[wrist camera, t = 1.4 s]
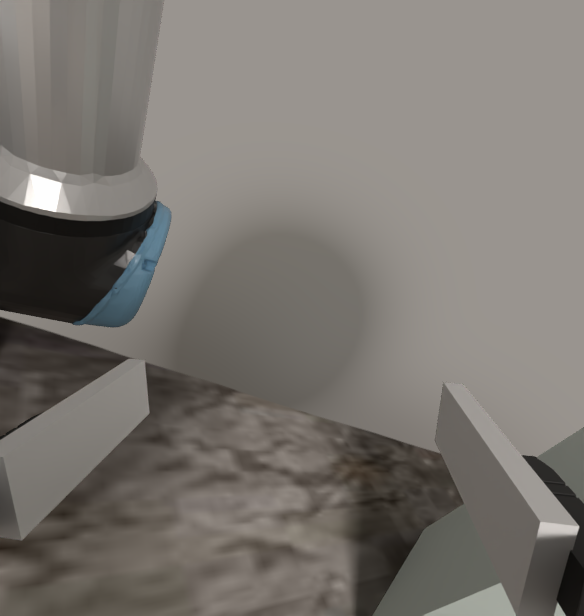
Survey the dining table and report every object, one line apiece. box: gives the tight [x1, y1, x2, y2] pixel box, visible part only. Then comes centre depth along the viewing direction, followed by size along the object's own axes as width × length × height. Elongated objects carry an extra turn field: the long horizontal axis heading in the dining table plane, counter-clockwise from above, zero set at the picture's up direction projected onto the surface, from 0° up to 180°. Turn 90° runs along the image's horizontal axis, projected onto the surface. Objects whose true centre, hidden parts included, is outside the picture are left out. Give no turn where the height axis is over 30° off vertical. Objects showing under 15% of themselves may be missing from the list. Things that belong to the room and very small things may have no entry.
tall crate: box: [372, 428, 584, 616], centre depth 24 cm, size 20×14×30 cm
